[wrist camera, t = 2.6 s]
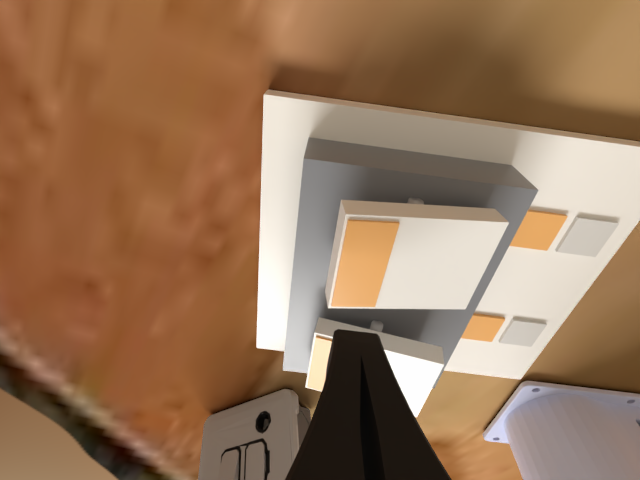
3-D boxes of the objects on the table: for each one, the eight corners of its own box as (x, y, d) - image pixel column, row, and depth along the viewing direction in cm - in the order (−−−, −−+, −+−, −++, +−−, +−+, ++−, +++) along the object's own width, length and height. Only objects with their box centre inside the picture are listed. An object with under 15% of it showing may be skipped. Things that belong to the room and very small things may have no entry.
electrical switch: (291, 382, 27) (281, 537, 20) (328, 408, 30) (330, 553, 22) (204, 413, 30) (168, 556, 23) (244, 434, 33) (223, 568, 26)
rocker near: (494, 208, 13) (510, 224, 12) (455, 293, 16) (466, 311, 15) (341, 199, 12) (346, 215, 11) (324, 290, 15) (328, 310, 14)
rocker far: (442, 347, 16) (444, 366, 15) (416, 399, 19) (417, 418, 18) (318, 317, 17) (313, 333, 16) (309, 371, 19) (304, 388, 19)
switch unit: (670, 145, 15) (762, 184, 12) (514, 366, 24) (542, 424, 21) (268, 89, 15) (247, 113, 12) (259, 336, 24) (246, 389, 21)
